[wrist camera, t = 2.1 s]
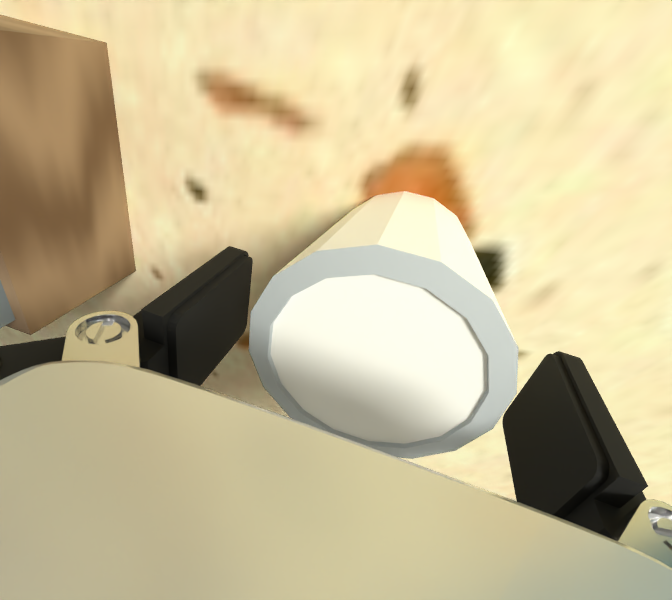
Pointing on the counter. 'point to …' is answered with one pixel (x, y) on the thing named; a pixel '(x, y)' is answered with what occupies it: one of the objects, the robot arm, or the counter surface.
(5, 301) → the slate top block
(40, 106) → the walnut base block
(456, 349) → the shot glass
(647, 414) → the counter surface
